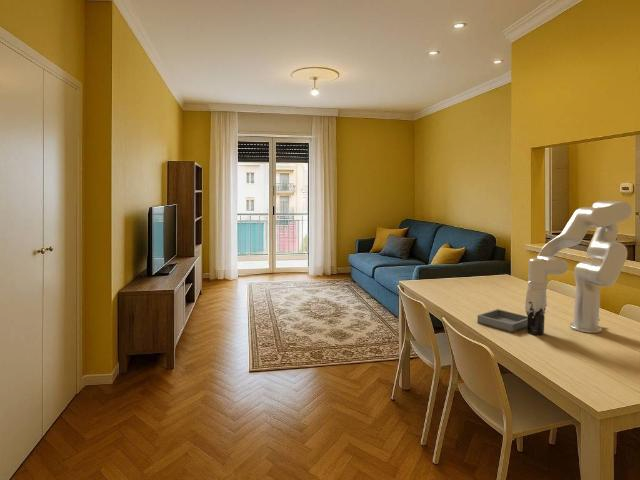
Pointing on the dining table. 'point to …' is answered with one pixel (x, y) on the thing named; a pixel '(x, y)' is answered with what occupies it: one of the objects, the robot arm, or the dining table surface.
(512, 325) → the tray
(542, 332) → the supplement bottle
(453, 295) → the dining table surface
